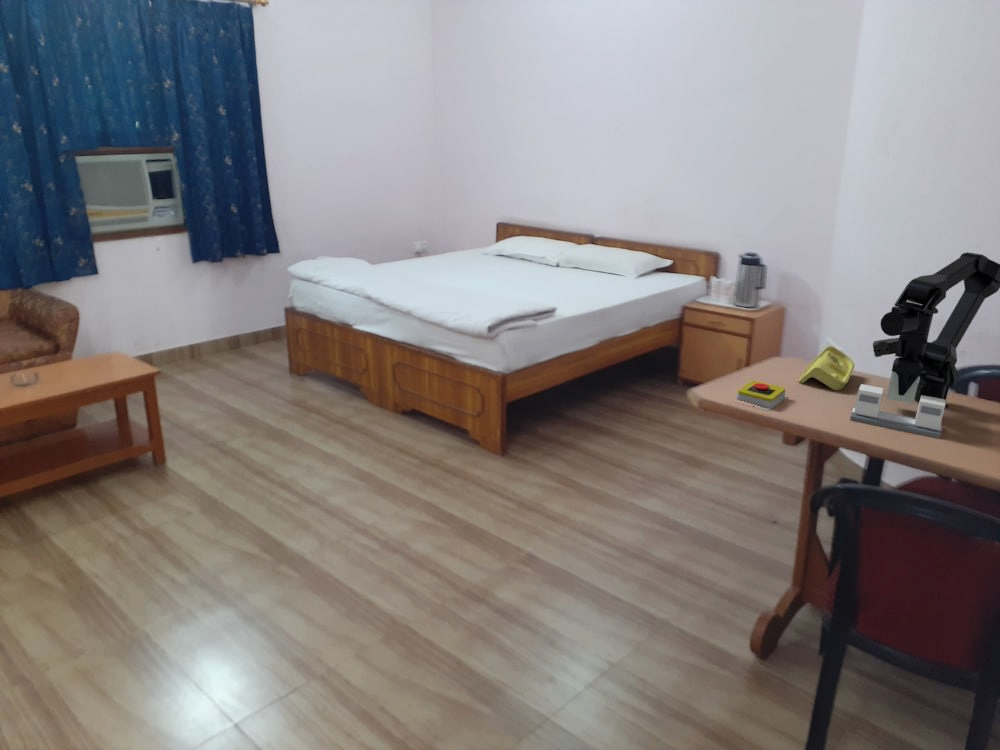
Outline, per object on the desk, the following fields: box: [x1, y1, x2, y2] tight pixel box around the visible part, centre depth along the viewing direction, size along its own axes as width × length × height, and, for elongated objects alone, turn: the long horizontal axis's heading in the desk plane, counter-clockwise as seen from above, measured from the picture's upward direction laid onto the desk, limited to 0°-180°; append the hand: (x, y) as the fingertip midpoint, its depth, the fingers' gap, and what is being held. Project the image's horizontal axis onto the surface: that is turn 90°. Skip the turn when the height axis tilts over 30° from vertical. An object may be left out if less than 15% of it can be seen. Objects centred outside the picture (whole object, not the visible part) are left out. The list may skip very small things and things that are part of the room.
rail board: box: [849, 383, 946, 439], centre depth 175 cm, size 19×8×7 cm, turn 60°
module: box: [886, 370, 920, 404], centre depth 183 cm, size 6×5×7 cm
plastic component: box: [798, 345, 855, 391], centre depth 207 cm, size 20×7×10 cm
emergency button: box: [735, 380, 788, 411], centre depth 189 cm, size 9×4×15 cm
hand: (901, 392), depth 184 cm, fingers closed on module, 5 cm apart
